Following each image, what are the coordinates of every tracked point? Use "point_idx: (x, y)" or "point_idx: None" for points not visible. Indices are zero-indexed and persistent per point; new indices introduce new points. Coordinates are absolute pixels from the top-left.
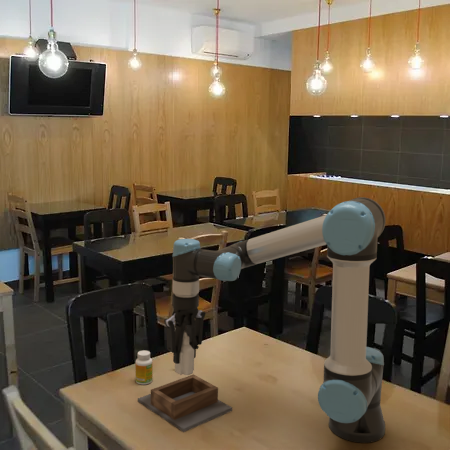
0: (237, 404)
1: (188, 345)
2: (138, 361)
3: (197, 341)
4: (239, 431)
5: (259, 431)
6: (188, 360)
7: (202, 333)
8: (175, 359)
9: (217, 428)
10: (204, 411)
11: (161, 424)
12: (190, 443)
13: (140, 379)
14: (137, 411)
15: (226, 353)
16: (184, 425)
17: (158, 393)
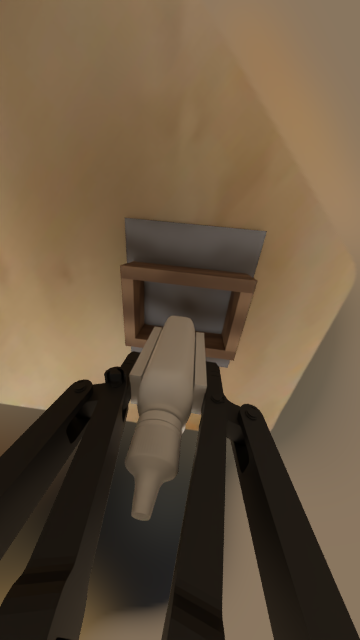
0: (102, 230)
1: (156, 404)
2: (182, 430)
3: (87, 401)
4: (178, 122)
5: (139, 69)
6: (185, 344)
7: (21, 436)
8: (219, 378)
9: (204, 183)
10: (181, 252)
11: (263, 287)
12: (294, 180)
13: None
14: (251, 345)
15: (21, 368)
16: (253, 240)
17: (236, 340)
